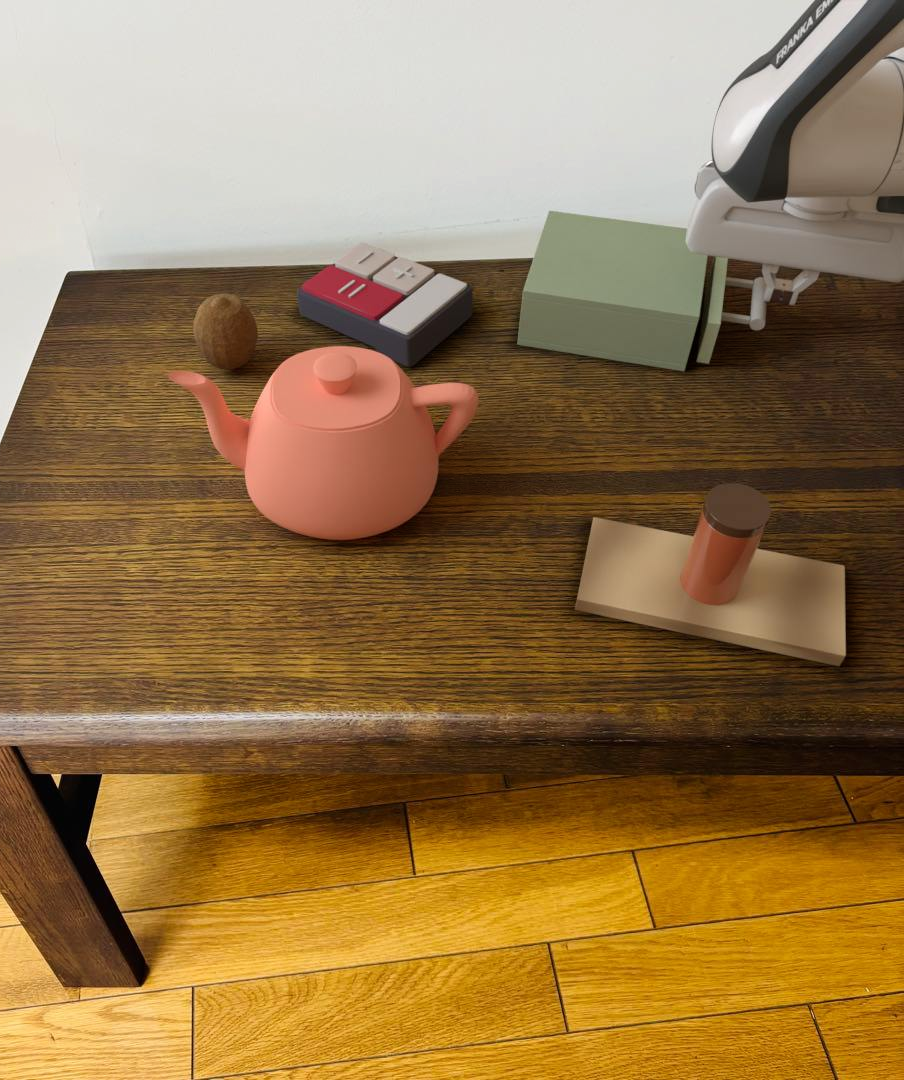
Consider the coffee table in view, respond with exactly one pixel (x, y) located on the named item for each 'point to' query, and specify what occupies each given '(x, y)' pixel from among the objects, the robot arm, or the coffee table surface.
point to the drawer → (715, 306)
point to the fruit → (225, 331)
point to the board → (748, 620)
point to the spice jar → (724, 543)
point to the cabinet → (613, 291)
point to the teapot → (337, 441)
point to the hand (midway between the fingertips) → (778, 300)
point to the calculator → (387, 302)
